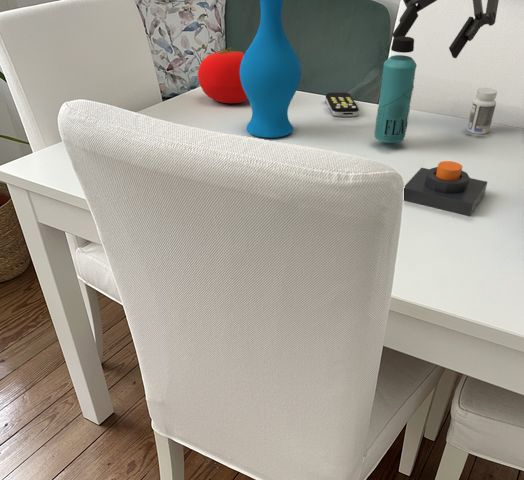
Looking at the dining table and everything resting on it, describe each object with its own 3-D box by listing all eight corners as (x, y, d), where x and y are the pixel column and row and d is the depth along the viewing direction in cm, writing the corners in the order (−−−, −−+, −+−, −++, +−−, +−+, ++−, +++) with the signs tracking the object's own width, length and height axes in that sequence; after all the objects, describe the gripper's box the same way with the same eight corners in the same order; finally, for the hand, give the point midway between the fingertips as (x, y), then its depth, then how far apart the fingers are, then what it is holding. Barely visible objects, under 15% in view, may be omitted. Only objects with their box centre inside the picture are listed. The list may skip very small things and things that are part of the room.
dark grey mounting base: (484, 193, 101) (490, 171, 99) (469, 216, 95) (475, 193, 92) (419, 178, 106) (423, 157, 103) (400, 199, 99) (404, 177, 97)
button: (462, 175, 98) (465, 163, 97) (455, 183, 96) (458, 172, 94) (439, 170, 100) (442, 159, 99) (432, 178, 97) (435, 167, 96)
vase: (301, 140, 120) (309, -16, 101) (241, 142, 119) (238, -16, 101) (295, 121, 129) (301, -26, 111) (239, 122, 128) (236, -26, 110)
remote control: (349, 99, 141) (349, 91, 139) (359, 117, 131) (360, 108, 130) (324, 100, 140) (324, 91, 139) (332, 117, 131) (333, 108, 130)
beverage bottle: (378, 151, 116) (393, 42, 103) (368, 139, 121) (381, 34, 108) (408, 149, 116) (427, 41, 103) (397, 138, 121) (414, 32, 108)
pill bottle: (492, 130, 125) (503, 90, 120) (482, 136, 123) (492, 95, 117) (472, 125, 128) (482, 85, 122) (462, 130, 125) (471, 90, 120)
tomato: (233, 113, 133) (231, 59, 125) (190, 101, 139) (186, 49, 132) (266, 100, 140) (266, 49, 133) (224, 89, 147) (222, 39, 139)
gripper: (552, -31, 103) (483, 72, 105) (440, -45, 118) (381, 46, 120) (547, -66, 97) (473, 45, 99) (429, -75, 112) (367, 21, 114)
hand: (423, 46), depth 110 cm, fingers open, 13 cm apart
